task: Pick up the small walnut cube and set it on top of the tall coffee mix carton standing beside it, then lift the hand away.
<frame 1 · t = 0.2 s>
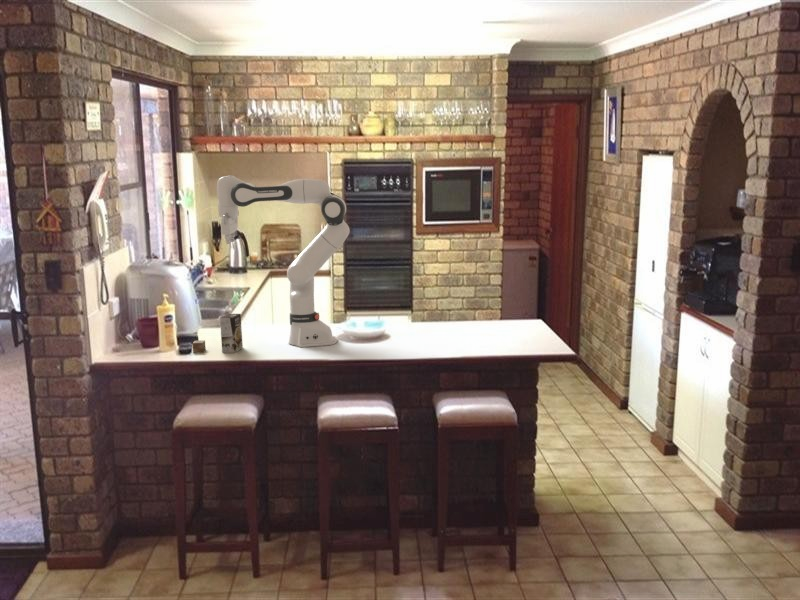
hand: (230, 242, 335), 47 cm above the counter, fingers open, 8 cm apart
coffee box: (232, 350, 334), on the counter
walnut block: (199, 351, 334), on the counter
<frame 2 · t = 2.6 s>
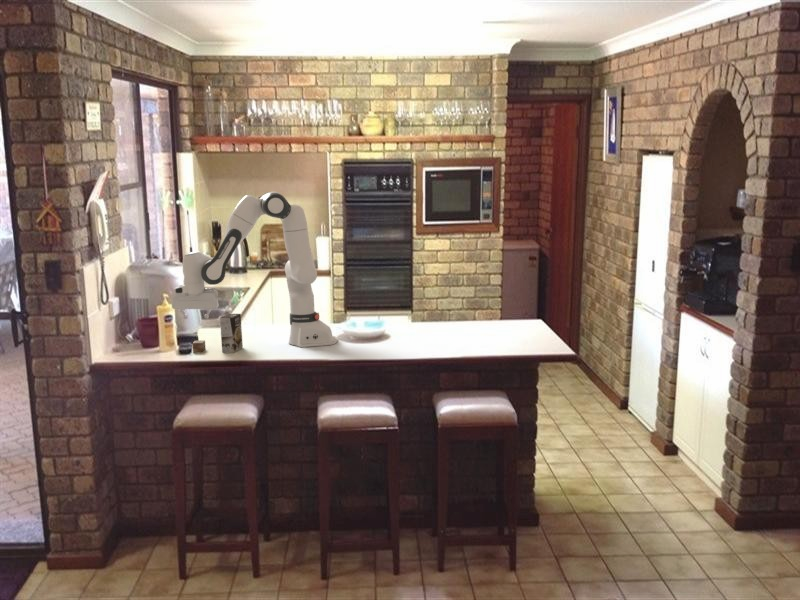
hand: (196, 318, 331), 15 cm above the counter, fingers open, 8 cm apart
nothing on the counter moved.
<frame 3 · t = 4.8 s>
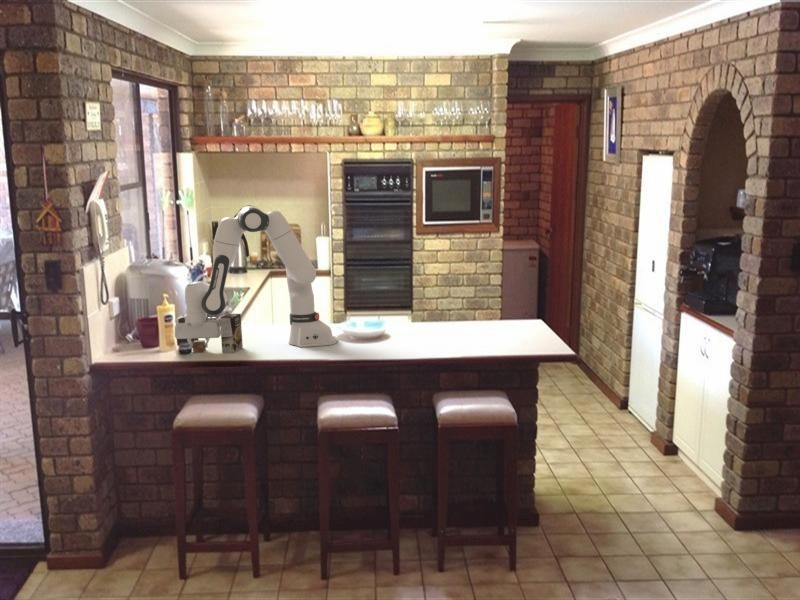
hand: (199, 347, 334), 2 cm above the counter, fingers closed on walnut block, 4 cm apart
walnut block: (199, 351, 334), on the counter, touching gripper
everything else where it was.
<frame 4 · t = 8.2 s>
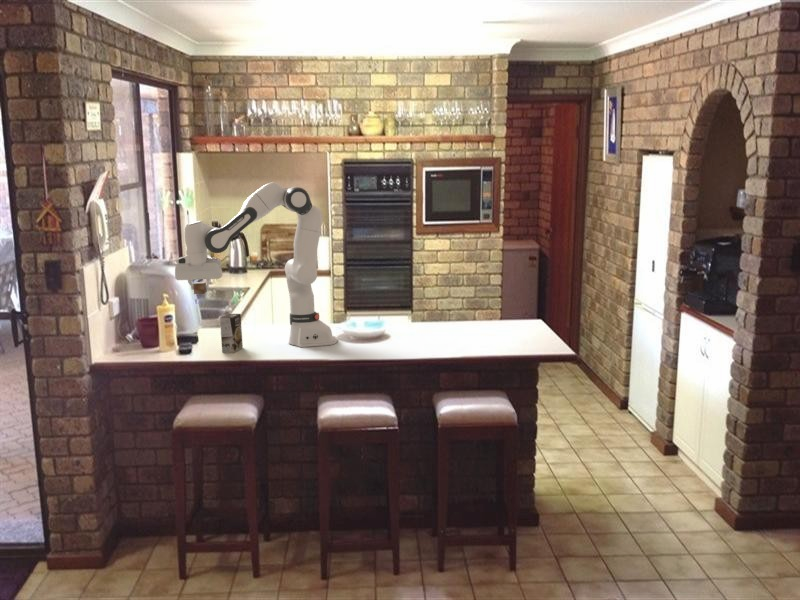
hand: (200, 289, 328), 28 cm above the counter, fingers closed on walnut block, 4 cm apart
walnut block: (200, 292, 329), point 27 cm above the counter, touching gripper
everything else where it was.
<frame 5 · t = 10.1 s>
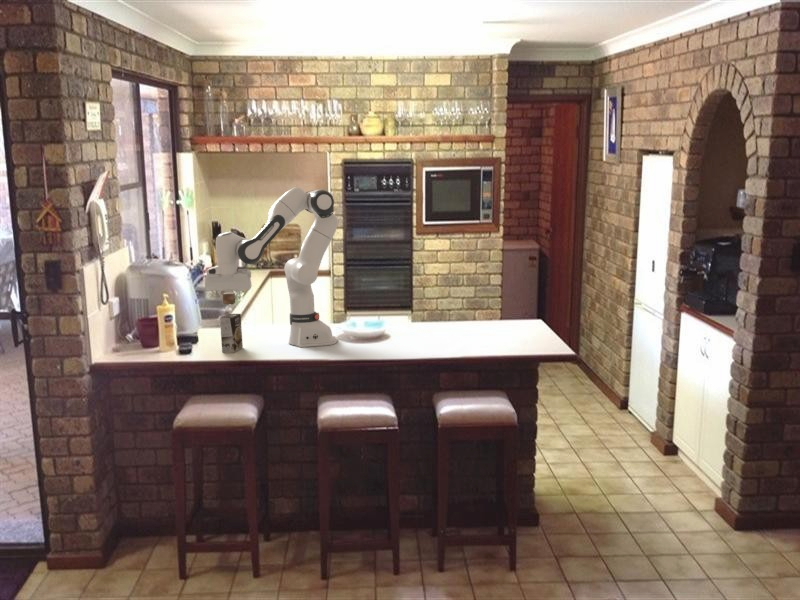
hand: (229, 299, 330), 23 cm above the counter, fingers closed on walnut block, 4 cm apart
walnut block: (229, 303, 330), point 22 cm above the counter, touching gripper
everything else where it was.
when the fingers open (19 cm above the counter, at t = 11.6 s): walnut block drops 1 cm, resting on coffee box.
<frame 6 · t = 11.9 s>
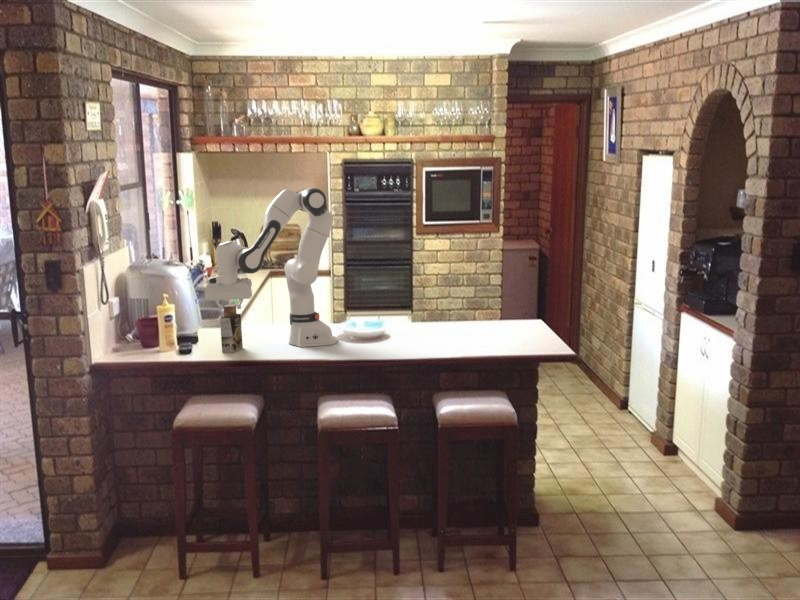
hand: (229, 308, 330), 19 cm above the counter, fingers open, 7 cm apart
coffee box: (232, 350, 334), on the counter, touching walnut block
walnut block: (230, 315, 331), point 16 cm above the counter, touching coffee box
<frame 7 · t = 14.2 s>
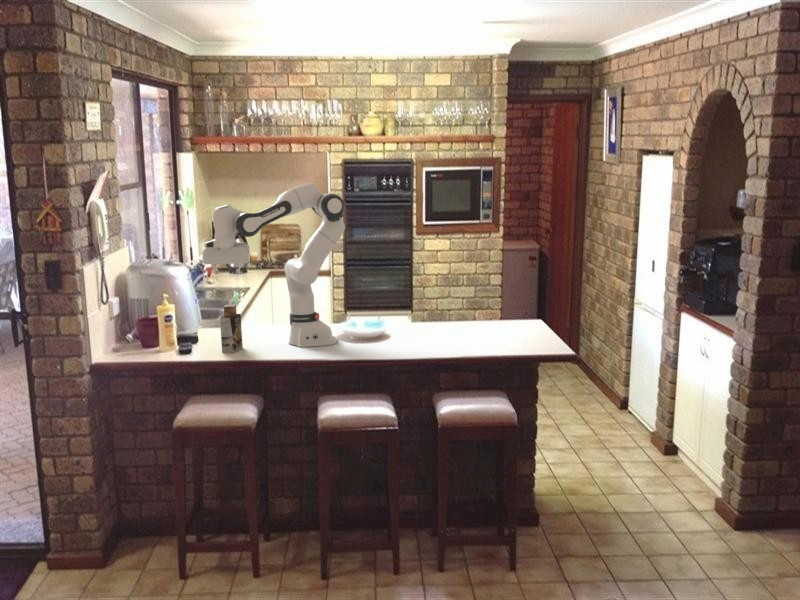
hand: (227, 273, 327), 35 cm above the counter, fingers open, 8 cm apart
nothing on the counter moved.
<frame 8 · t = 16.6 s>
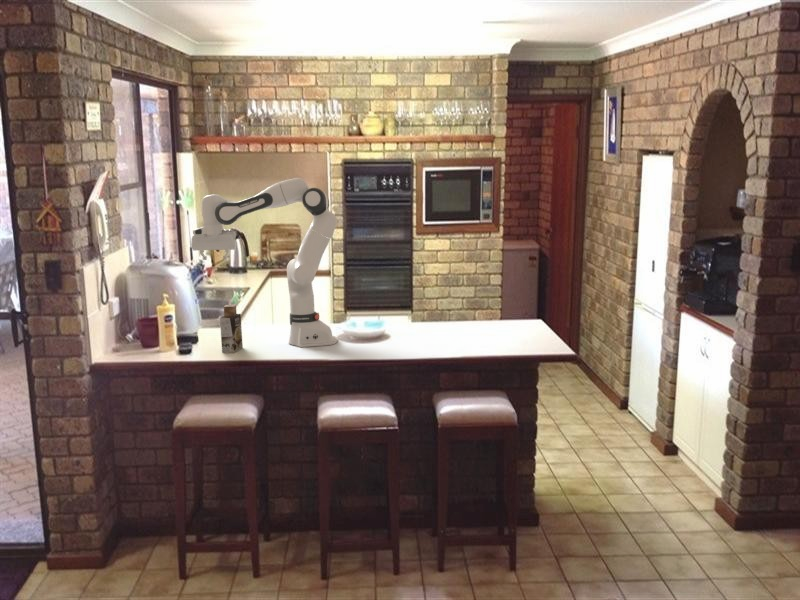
hand: (215, 259, 343), 39 cm above the counter, fingers open, 8 cm apart
nothing on the counter moved.
at the end: walnut block inside the target area on the coffee box (0.1 cm from its centre), point 16.3 cm above the coffee box's base; coffee box tilted 0°; the gripper is holding nothing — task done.
